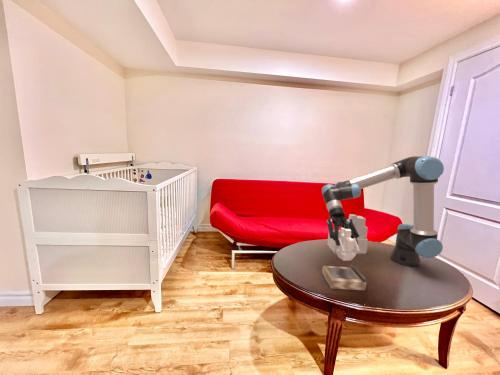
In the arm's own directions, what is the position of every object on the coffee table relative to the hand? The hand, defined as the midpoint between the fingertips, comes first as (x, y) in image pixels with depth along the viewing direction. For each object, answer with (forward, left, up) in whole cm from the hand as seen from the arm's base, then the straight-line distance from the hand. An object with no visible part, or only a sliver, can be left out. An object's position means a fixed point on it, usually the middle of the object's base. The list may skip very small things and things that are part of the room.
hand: (350, 251), depth 103 cm
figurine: (+1, -3, -5) cm, 6 cm away
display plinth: (0, -3, -17) cm, 17 cm away
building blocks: (-18, -43, -17) cm, 50 cm away
